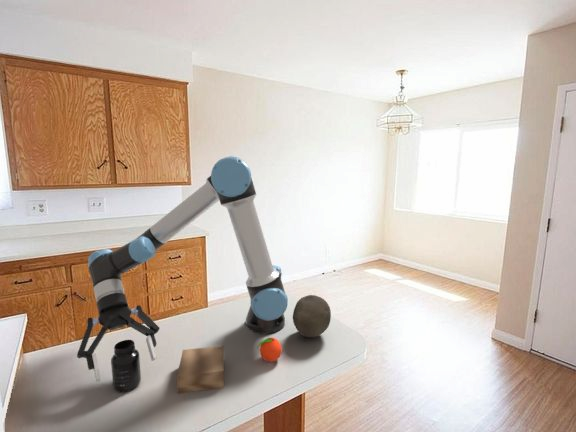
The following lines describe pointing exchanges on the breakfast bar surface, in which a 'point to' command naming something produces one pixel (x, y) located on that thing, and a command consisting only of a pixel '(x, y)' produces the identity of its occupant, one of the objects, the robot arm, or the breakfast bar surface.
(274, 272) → the robot arm
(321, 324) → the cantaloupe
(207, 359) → the walnut block
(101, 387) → the breakfast bar surface
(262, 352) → the clementine
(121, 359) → the supplement bottle
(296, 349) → the breakfast bar surface
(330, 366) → the breakfast bar surface
